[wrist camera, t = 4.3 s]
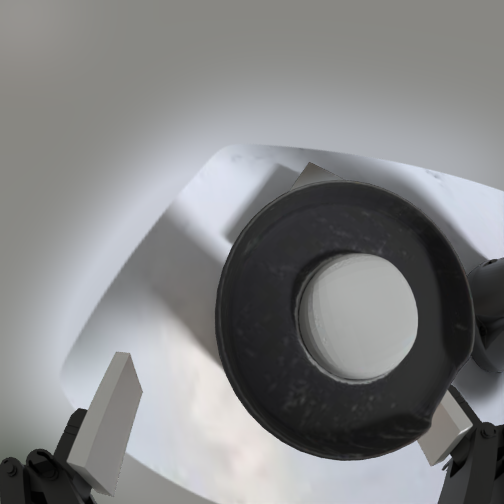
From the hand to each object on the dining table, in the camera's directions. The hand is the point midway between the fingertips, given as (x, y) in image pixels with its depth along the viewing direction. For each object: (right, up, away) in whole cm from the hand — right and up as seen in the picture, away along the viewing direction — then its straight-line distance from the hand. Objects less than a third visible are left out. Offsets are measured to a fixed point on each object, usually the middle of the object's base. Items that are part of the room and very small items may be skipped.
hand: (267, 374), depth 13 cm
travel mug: (+1, -4, +12) cm, 12 cm away
